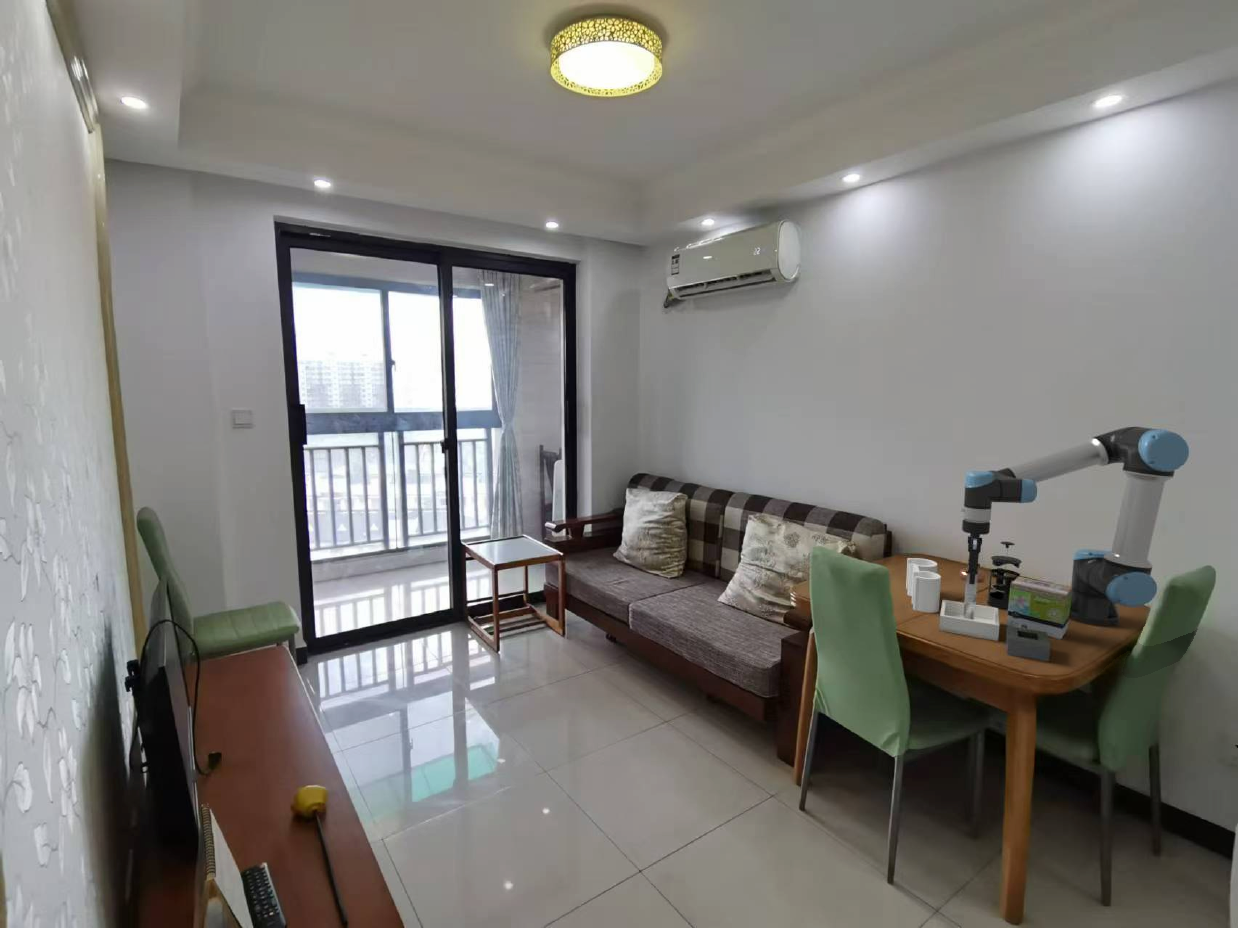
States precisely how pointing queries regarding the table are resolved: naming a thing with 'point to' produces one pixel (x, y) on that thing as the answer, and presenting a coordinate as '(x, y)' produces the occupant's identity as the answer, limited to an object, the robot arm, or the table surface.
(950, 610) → the tray
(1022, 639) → the block
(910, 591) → the bracket
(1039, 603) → the tea box
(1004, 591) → the french press
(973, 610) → the copper slotted screw
